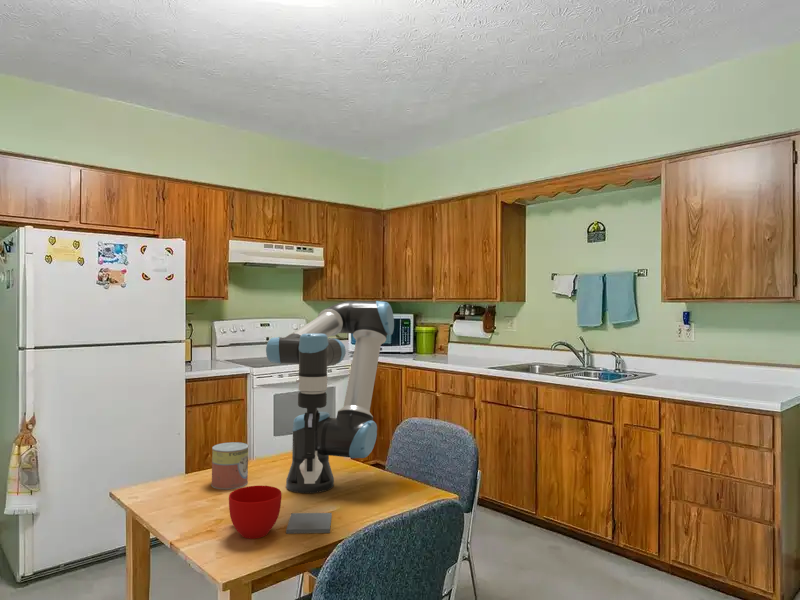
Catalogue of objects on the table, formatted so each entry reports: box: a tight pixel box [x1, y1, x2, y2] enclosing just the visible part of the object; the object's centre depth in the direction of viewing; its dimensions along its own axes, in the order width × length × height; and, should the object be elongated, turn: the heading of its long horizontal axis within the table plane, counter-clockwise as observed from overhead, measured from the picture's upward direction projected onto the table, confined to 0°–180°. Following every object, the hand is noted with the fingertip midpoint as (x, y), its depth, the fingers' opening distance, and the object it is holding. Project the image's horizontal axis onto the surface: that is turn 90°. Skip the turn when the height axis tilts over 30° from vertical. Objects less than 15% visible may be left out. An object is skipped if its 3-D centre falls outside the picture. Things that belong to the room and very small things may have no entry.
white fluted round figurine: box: [300, 455, 323, 481], centre depth 144 cm, size 6×6×7 cm
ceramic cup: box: [228, 485, 282, 540], centre depth 140 cm, size 13×17×10 cm
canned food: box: [210, 441, 249, 490], centre depth 176 cm, size 11×11×12 cm
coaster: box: [285, 512, 333, 535], centre depth 144 cm, size 11×11×1 cm
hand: (310, 478), depth 144 cm, fingers closed on white fluted round figurine, 6 cm apart
